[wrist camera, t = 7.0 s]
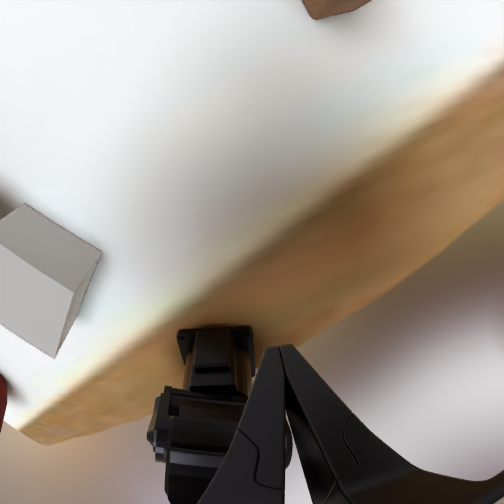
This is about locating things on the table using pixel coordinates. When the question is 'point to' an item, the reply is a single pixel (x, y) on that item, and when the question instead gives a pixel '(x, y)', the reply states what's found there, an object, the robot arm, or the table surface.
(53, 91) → the table surface
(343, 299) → the table surface
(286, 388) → the robot arm
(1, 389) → the mug
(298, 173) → the table surface
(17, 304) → the gray rectangular block
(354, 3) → the wooden block
